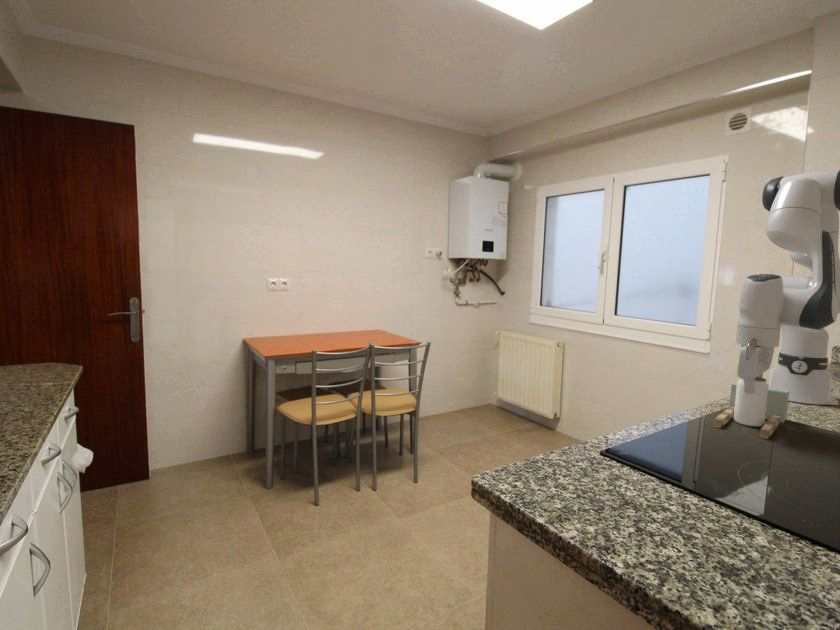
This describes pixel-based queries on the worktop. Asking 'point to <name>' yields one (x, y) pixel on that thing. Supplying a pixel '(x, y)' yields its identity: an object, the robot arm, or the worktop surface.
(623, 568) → the worktop surface
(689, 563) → the worktop surface
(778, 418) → the rails
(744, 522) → the worktop surface
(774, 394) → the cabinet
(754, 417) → the can
